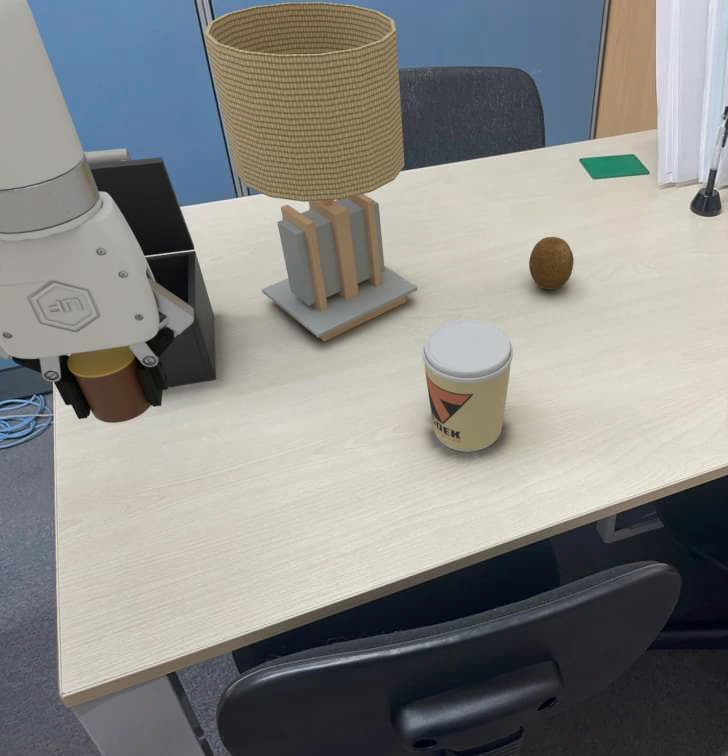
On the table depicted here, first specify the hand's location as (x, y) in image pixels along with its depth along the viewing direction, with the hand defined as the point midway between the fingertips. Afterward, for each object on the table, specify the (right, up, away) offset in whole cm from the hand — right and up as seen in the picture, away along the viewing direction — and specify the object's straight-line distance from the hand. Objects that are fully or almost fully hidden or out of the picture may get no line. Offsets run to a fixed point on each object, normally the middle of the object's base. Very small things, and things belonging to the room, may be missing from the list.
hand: (122, 399), depth 57 cm
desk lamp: (+8, +12, +41) cm, 43 cm away
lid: (-13, +20, +23) cm, 33 cm away
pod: (0, 0, 0) cm, 0 cm away
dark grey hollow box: (-12, +5, +31) cm, 34 cm away
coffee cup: (+27, -4, +23) cm, 36 cm away
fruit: (+37, +15, +45) cm, 60 cm away
